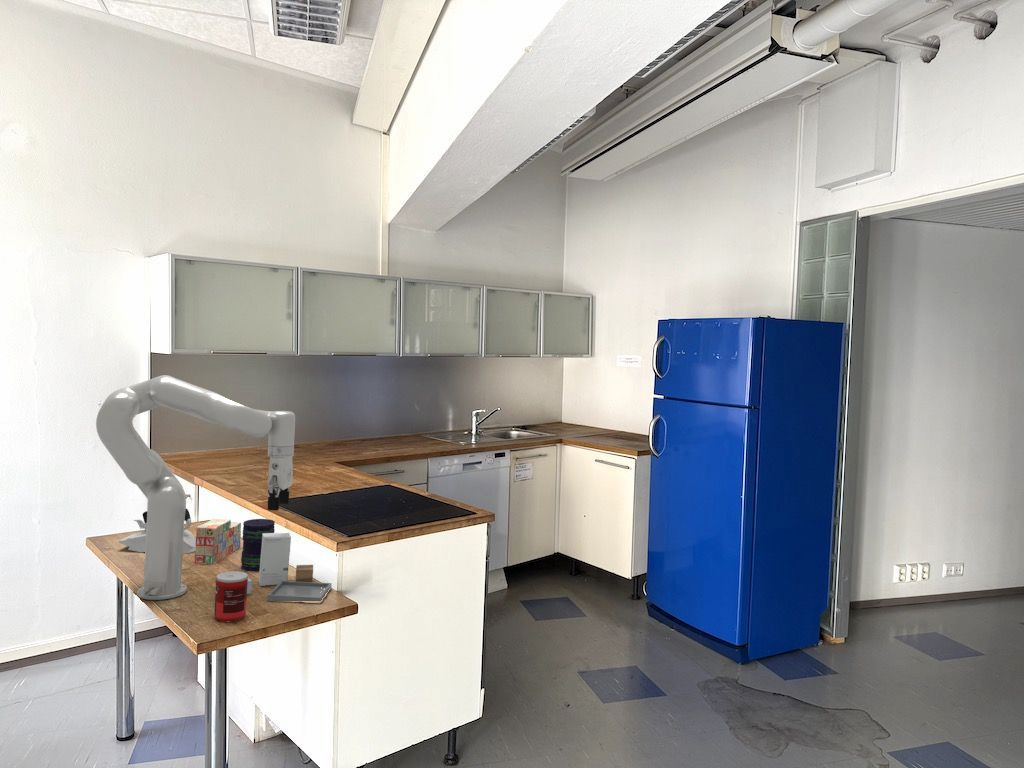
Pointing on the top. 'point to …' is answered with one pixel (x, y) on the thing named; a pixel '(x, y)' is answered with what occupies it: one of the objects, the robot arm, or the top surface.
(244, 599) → the canned food
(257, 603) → the top surface
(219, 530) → the stack of blocks
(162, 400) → the robot arm
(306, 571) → the walnut block
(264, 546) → the skincare box
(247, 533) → the storage jar
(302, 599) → the slate tray
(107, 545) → the top surface
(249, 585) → the blue-grey painted block
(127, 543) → the iron
